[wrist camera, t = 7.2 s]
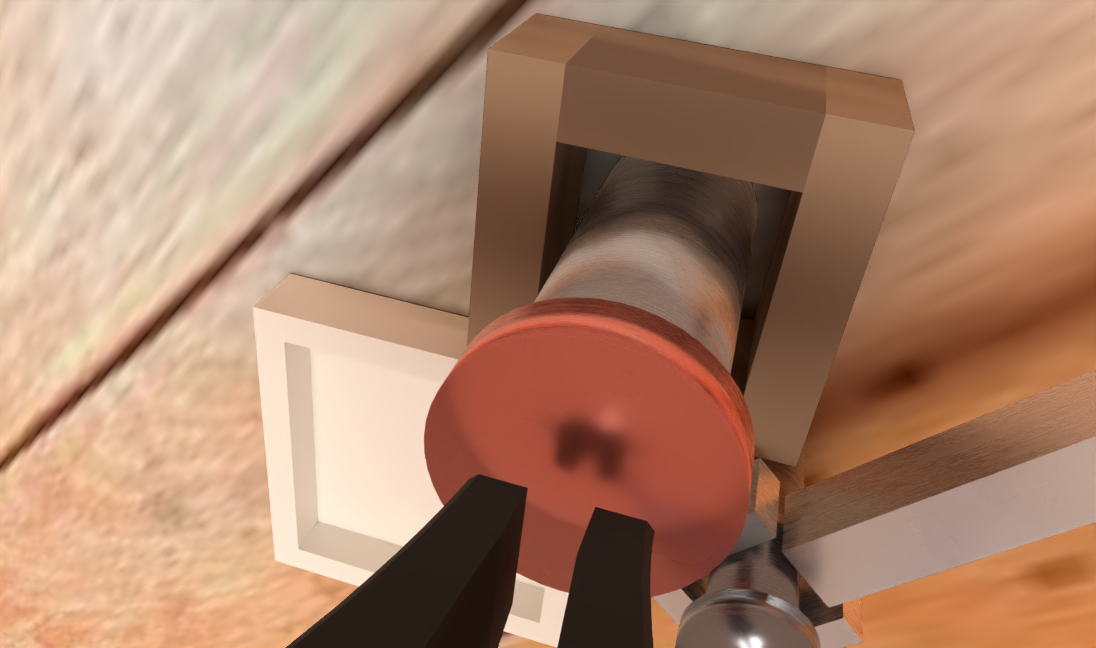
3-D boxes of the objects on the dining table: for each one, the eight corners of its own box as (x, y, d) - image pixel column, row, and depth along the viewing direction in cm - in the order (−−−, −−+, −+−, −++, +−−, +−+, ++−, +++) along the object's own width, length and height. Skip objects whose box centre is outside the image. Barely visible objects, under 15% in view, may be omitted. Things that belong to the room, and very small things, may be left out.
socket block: (799, 384, 20) (795, 466, 18) (506, 313, 21) (464, 380, 19) (902, 80, 16) (914, 130, 14) (536, 13, 18) (488, 49, 15)
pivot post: (806, 496, 22) (798, 728, 16) (703, 468, 22) (663, 686, 17) (836, 415, 20) (838, 640, 15) (726, 388, 21) (689, 597, 15)
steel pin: (754, 320, 20) (708, 635, 12) (567, 276, 20) (418, 548, 13) (806, 136, 17) (789, 389, 10) (594, 93, 18) (429, 299, 11)
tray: (579, 600, 26) (563, 649, 25) (304, 519, 28) (275, 560, 26) (626, 356, 21) (610, 398, 20) (290, 273, 23) (252, 306, 21)
